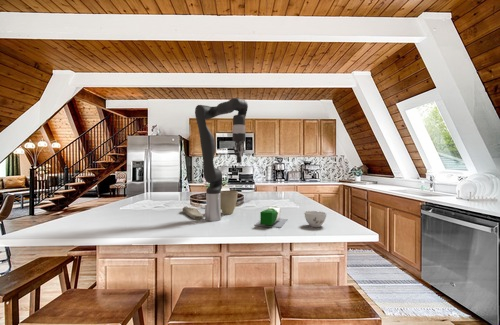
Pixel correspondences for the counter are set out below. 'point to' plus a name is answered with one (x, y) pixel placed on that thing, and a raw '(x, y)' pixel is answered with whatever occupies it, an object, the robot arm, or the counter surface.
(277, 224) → the slate mat
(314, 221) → the teacup
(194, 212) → the elongated rock
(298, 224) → the counter surface
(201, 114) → the robot arm
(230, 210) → the plant pot
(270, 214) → the milk carton
